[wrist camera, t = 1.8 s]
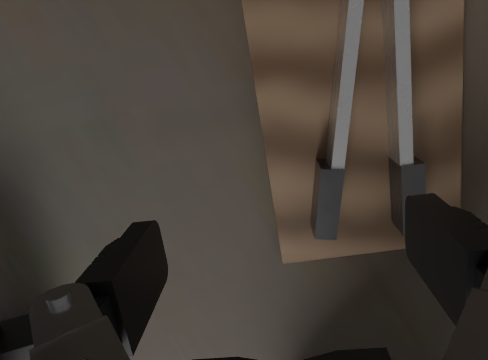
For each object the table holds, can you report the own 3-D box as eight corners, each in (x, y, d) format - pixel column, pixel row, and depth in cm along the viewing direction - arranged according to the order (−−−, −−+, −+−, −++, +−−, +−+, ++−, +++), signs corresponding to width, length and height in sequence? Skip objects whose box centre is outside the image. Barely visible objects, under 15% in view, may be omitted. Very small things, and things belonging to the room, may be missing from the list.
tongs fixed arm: (348, -169, 24) (360, -199, 21) (401, -181, 24) (419, -213, 21) (374, 223, 33) (384, 238, 30) (412, 218, 32) (426, 233, 30)
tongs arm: (340, -112, 25) (350, -134, 22) (367, -112, 25) (380, -133, 22) (310, 223, 33) (314, 239, 30) (330, 224, 33) (336, 240, 30)
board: (215, -173, 25) (212, -187, 24) (456, -232, 24) (468, -250, 22) (281, 255, 36) (282, 263, 35) (451, 234, 34) (460, 242, 33)
